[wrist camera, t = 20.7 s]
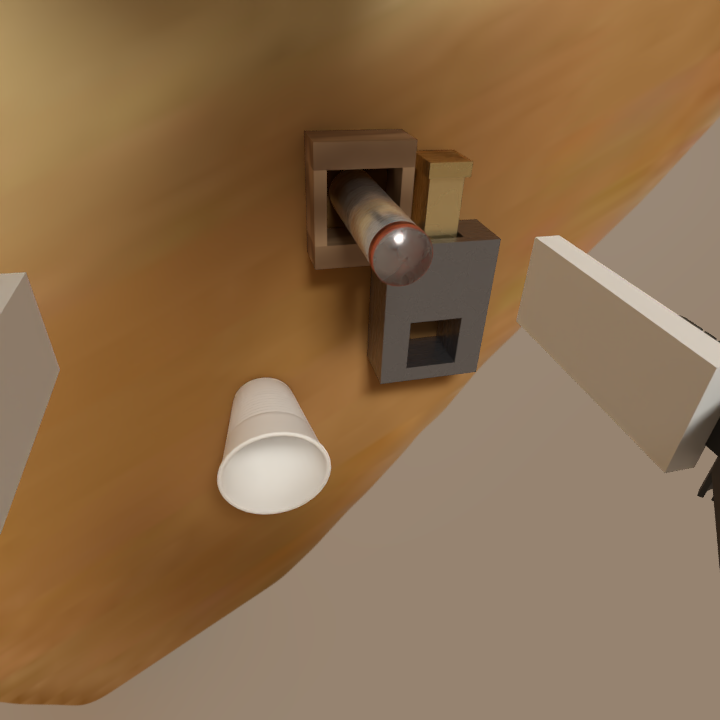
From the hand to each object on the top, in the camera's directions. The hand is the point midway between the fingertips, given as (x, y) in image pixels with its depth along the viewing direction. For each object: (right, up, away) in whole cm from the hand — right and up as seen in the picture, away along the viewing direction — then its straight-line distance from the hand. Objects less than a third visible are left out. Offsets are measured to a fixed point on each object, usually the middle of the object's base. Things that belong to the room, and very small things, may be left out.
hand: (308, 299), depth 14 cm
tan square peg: (+7, +12, +34) cm, 37 cm away
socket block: (+7, +5, +38) cm, 39 cm away
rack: (+1, +13, +31) cm, 34 cm away
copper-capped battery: (+1, +13, +31) cm, 34 cm away
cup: (-9, -6, +41) cm, 42 cm away
